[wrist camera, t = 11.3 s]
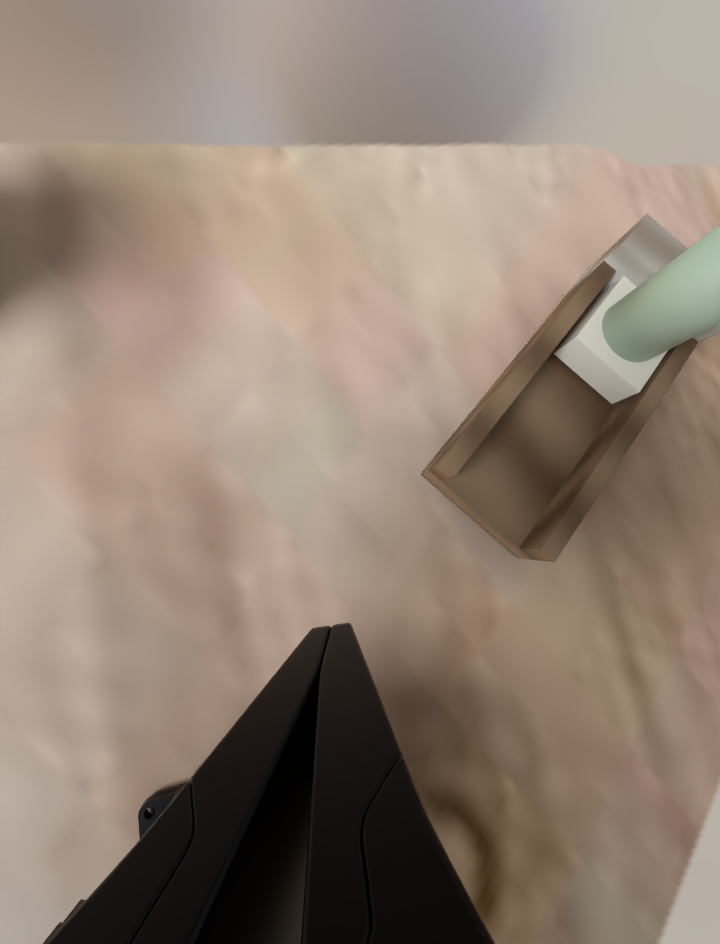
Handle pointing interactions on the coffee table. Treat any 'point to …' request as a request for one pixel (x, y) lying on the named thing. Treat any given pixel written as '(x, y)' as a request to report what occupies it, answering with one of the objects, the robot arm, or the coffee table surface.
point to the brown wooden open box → (555, 419)
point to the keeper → (645, 321)
